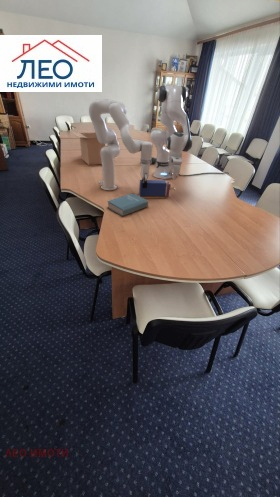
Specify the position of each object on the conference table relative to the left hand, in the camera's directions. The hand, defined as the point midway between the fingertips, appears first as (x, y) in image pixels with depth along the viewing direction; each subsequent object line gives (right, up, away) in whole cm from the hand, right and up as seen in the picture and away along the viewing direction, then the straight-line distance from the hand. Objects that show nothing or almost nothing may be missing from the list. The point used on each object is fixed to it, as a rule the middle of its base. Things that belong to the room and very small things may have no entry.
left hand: (144, 185), depth 165 cm
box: (-53, +47, +72) cm, 101 cm away
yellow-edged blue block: (+6, -6, +6) cm, 11 cm away
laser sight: (+9, +47, +78) cm, 92 cm away
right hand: (+21, +6, -1) cm, 22 cm away
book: (-11, -19, -13) cm, 25 cm away
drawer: (+12, -6, +6) cm, 15 cm away
